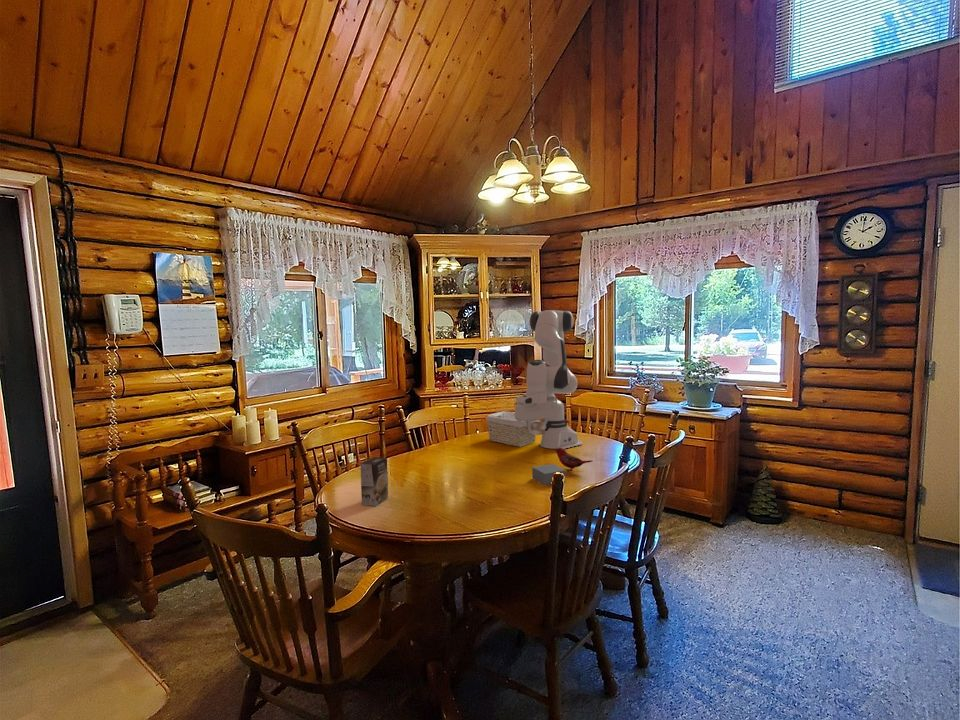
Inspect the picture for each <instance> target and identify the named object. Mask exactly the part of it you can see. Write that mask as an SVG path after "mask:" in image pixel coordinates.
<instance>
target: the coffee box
mask: <svg viewBox="0 0 960 720" xmlns="http://www.w3.org/2000/svg"><path fill="white" fill-rule="evenodd" d="M359 464H360V486H361V487H360V488H361V491H360V492H361V493H360V494H361V495H360V496H361V505H362V504H363V505H364V506H369V505H370V506H371V507H376V506H379V505H380V504H382V503H383V502H385V501H386V500H388V499H389V481H388V480H389V479H388V478H389V477H388V457H377V456H376V457H375V456H373V457H370V458H369V459H366V460H363V461H362V462H360V463H359ZM387 498H388V499H387ZM384 500H385V501H384ZM381 502H382V503H381Z"/></svg>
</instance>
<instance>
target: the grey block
mask: <svg viewBox="0 0 960 720" xmlns="http://www.w3.org/2000/svg"><path fill="white" fill-rule="evenodd" d="M564 469H565V468H562V467H560V466H557V465H555V464H554V463H550V464H544V465H543V464H542V465H538V466H537V465H536V466H534V467H533V466H532V467H531V470H532V471H531V472H532V473H531V474H532V475H531V476H532V478H533V479H532V480H534V479H535V480H534V481H536V482H537V481H538V483H539V482H540V483H539V484H542V485H543V486H545V485H547V486H550V485H551V482H552V477H553V475H554V473H556V472H560V473H563V474H564V476H565V477H566V470H564Z"/></svg>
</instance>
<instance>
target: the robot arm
mask: <svg viewBox="0 0 960 720" xmlns="http://www.w3.org/2000/svg"><path fill="white" fill-rule="evenodd" d="M528 323H529V326H530V327H529V328H530V329H531V330H532V331H533V332H534V340H535V343H536V345H538V346H539V347H540V348H542V359H543V360H542V359H533V360H529V361H528V362H527V366H526V373H525V382H526V384H527V385H526V391H525V393H524V394H521V395H519V396H516V399H515V402H516V404H515V406H514V413H515V419H516V420H517V421H526V424H527V425H528V430H533V426H531V425H530V422H531V420H536V419H537V420H541V422H544V423H545V434H542V435H541V440H540V443H539V446H541V447H542V448H546V449H552V450H557V449H558V448H562V449H564V450H567V449H566V448H568V449H570V447H572V448H575V447H574V446H576V447H579V446H578V445H580V446H583V442H582V441H581V440H579V438H578V433H577V432H576V431H575V430H574V429H572V428H571V427H570V426H568V424H569V425H570V424H571V422H572V421H571V420H570V419H566V418H565V406H564V405H565V404H564V403H563V402H562V401H561V400H559V399H558V398H557V397H556V395H555V394H562V395H565V394H572V393H574V392H575V391H576V390H577V388H578V379H577V377H576V376H575V374H574V373H573V372H571V370H570V369H569V367H568V361H567V351H566V344H565V334H567V333H568V332H570V331H571V330H572V329H573V326H574V323H575V319H574V316H573V313H572V312H571V311H569V310H556V309H553V310H551V309H549V310H548V309H546V310H542V311H539V310H538V311H533V312H532V313H531V314H530V316H529V322H528ZM547 365H548V366H547Z"/></svg>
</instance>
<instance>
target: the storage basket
mask: <svg viewBox="0 0 960 720" xmlns="http://www.w3.org/2000/svg"><path fill="white" fill-rule="evenodd" d="M531 421H538V419H536V420H531ZM486 422H487V427H488V437H489V441H491V442H496V443H499V444H505V445H507V446H515V447H520V448H522V446H523V447H525V446H528V445H531V444H533V443H535V442H536V435H533V434H530V433H529V430H528V425H527V424H526V421H517V420H516V419H515V411H506V410H503V411H498V412H494V413H491V414H488V415H487V416H486ZM530 443H531V444H530Z"/></svg>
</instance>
